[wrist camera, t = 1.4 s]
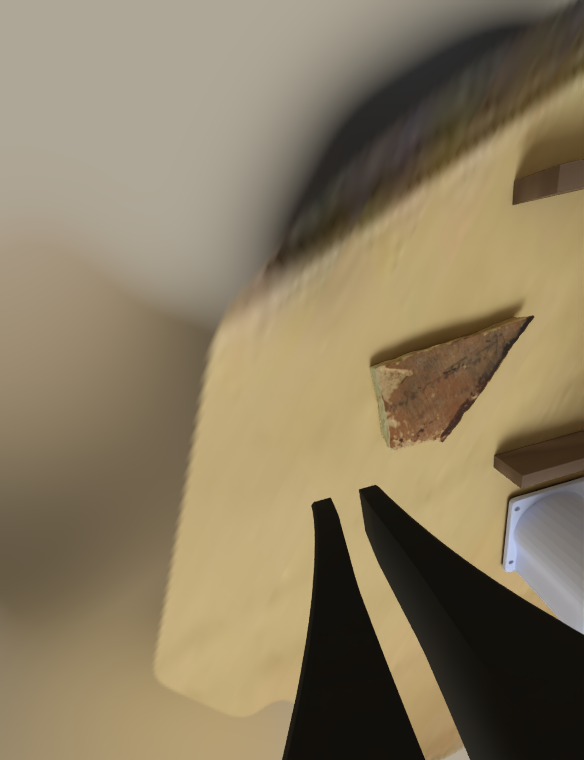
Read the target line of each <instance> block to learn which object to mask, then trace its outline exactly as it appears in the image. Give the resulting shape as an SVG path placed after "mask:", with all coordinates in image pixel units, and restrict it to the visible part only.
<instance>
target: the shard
mask: <svg viewBox="0 0 584 760" xmlns="http://www.w3.org/2000/svg"><path fill="white" fill-rule="evenodd" d="M533 318H534V316H533V315H532V316H528V317H518V318H516V317H511V318H508V319H507V320H505V321H502V322H499V323H496V324H493V325H491V326H489V327H487V328H484V329H483V330H481V331H478V332H476V333H474V334H472V335H469V336H462V337H459V338H457V339H454V340H451V341H449V342H447V343H442V344H437V345H435V346H432V347H430V348H427V349H423V350H419V351H413V352H409V353H407V354H405V355H402V356H400V357H398V358H396V359H393V360H388V361H384V362H381V363H379V364H377V365H374V366H371V367H370V371H371V375H372V378H373V383H374V387H375V392H376V396H377V399H378V403H379V417H380V424H381V433H382V435H383V438H384V439H385V442H386V444H387V447H388V448H389V449H390V450H391V451H396V450H400V449H403V448H405V447H409V446H412V445H414V444H417V443H422V442H429V441H435V440H437V441H439V442H443V441H444V440H445V439H446V438H447V436H448V435H449V434H450V433H451V432H452V430H453V429H454V428H455V427H456V426H457V425H458V423H459V422H460V420H461V419H462V416H463V414H464V413H465V412H466V411H467V410H468V409H469V408H470V407H471V406H472V404H473V403H474V402H475V400H476V399H477V397H478V396H479V395H480V394H481V393H482V391H483V390H484V389H485V387H486V386H487V384H488V382H489V381H490V380H491V378H492V377H493V375H494V374H495V372H496V371H497V370H498V368H499V366H500V365H501V363H502V362H503V360H504V359H505V357H506V355H507V354H508V351H509V350H510V349H511V347H512V346H513V344H514V343H515V342H516V341H517V340H518V338H519V336H520V335H521V334H522V333H523V332H524V331H525V329H526V327H527V326H528V324H529V323H530V322H531V321H532V320H533Z"/></svg>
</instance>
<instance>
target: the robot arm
mask: <svg viewBox="0 0 584 760" xmlns="http://www.w3.org/2000/svg"><path fill="white" fill-rule="evenodd" d="M359 493H360V500H361V506H362V512H363V519H364V525H365V531H366V534H367V536H368V539H369V541H370V544H371V546H372V549H373V551H374V554H375V556H376V559H377V561H378V563H379V565H380V567H381V569H382V571H383V573H384V575H385V577H386V579H387V581H388V583H389V585H390V586H391V588H392V590H393V592H394V594H395V596H396V598H397V600H398V602H399V604H400V606H401V608H402V610H403V612H404V613H405V615H406V617H407V619H408V621H409V623H410V625H411V627H412V629H413V631H414V633H415V635H416V637H417V639H418V641H419V643H420V645H421V647H422V649H423V651H424V653H425V655H426V657H427V660H428V662H429V664H430V667H431V669H432V671H433V674H434V676H435V678H436V681H437V683H438V685H439V687H440V690H441V692H442V694H443V697H444V699H445V701H446V704H447V706H448V708H449V711H450V713H451V715H452V718H453V720H454V723H455V725H456V727H457V730H458V732H459V734H460V737H461V739H462V741H463V744H464V746H465V748H466V751H467V753H468V756H469V758H470V760H584V477H582V478H579V479H576V480H572V481H569V482H565V483H562V484H559V485H555V486H552V487H548V488H545V489H542V490H538V491H535V492H531V493H528V494H525V495H521V496H518V497H514V498H512V499H511V500H510V502H509V509H508V519H507V528H506V538H505V548H504V557H503V569H504V570H505V571H506V572H512V571H516V572H517V573H518V574H519V575H520V576H521V577H522V578H523V579H524V581H525V582H526V583H527V584H528V585H529V586H530V587H531V588H532V589H533V590H534V592H535V593H536V594H537V595H538V596H539V597H540V598H541V599H542V600H543V601H544V603H545V604H546V605H547V606H548V607H549V608H550V609H551V610H552V611H553V612H554V614H555V615H556V616H557V617H558V618H559V619H560V620H561V621H560V620H558V619H556V618H555V617H553V616H551V615H550V614H548V613H546V612H545V611H543V610H541V609H540V608H538V607H536V606H534V605H533V604H531V603H529V602H528V601H526V600H524V599H523V598H521V597H520V596H518V595H517V594H515V593H513V592H512V591H510V590H509V589H507V588H506V587H504V586H503V585H501V584H499V583H498V582H496V581H495V580H493V579H492V578H491V577H489V576H488V575H486V574H485V573H483V572H482V571H480V570H479V569H477V568H476V567H475V566H473V565H472V564H470V563H469V562H467V561H466V560H465V559H463V558H462V557H461V556H459V555H458V554H457V553H455V552H454V551H453V550H451V549H450V548H449V547H447V546H446V545H445V544H443V543H442V542H441V541H440V540H438V539H437V538H436V537H435V536H433V535H432V534H431V533H430V532H428V531H427V530H426V529H425V528H424V527H422V526H421V525H420V524H419V523H418V522H416V521H415V520H414V519H413V518H412V517H411V516H409V515H408V514H407V513H406V512H405V511H404V510H403V509H402V508H400V507H399V506H398V505H397V504H396V503H395V502H394V501H393V500H392V499H391V498H390V497H389V496H388V495H387V494H386V493H384V492H383V491H382V490H381V489H380V488H379V487H378V486H377V485H373V486H370V487H366V488H363V489H359ZM311 506H312V510H313V517H314V528H315V558H314V576H313V589H312V600H311V609H310V617H309V624H308V631H307V638H306V645H305V651H304V656H303V662H302V668H301V674H300V679H299V684H298V690H297V695H296V700H295V704H294V709H293V713H292V718H291V722H290V727H289V731H288V736H287V740H286V745H285V750H284V754H283V758H282V760H425V758H424V755H423V753H422V750H421V748H420V746H419V743H418V741H417V738H416V736H415V733H414V731H413V728H412V726H411V723H410V720H409V718H408V715H407V713H406V710H405V708H404V705H403V703H402V700H401V698H400V695H399V693H398V690H397V688H396V685H395V683H394V680H393V677H392V675H391V672H390V670H389V667H388V665H387V662H386V659H385V657H384V654H383V652H382V649H381V646H380V644H379V641H378V639H377V636H376V634H375V631H374V628H373V626H372V623H371V620H370V618H369V615H368V612H367V610H366V607H365V604H364V602H363V599H362V597H361V594H360V591H359V588H358V585H357V581H356V578H355V575H354V571H353V567H352V564H351V560H350V556H349V553H348V549H347V545H346V542H345V538H344V534H343V531H342V527H341V523H340V519H339V516H338V513H337V511H336V508H335V506H334V504H333V502H332V499H331V498H327V499H324V500H320V501H316V502H314V503H313V504H312V505H311Z"/></svg>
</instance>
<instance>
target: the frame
mask: <svg viewBox="0 0 584 760" xmlns="http://www.w3.org/2000/svg"><path fill="white" fill-rule="evenodd" d="M582 189H584V159H582V160H578V161H573V162H569V163H564V164H560V165H557V166H554V167H552V168H549V169H546V170H543V171H540V172H538V173H535V174H532V175H529V176H527V177H524V178H521V179H518V180H516V181H515V182H514V196H513V205H515V204H519V203H524V202H528V201H533V200H537V199H542V198H546V197H551V196H555V195H559V194H564V193H568V192H573V191H577V190H582ZM494 468H495V469H497V470H498V471H499V472H500V473H502V474H503V475H504V476H506V477H507V478H508V479H510V480H511V481H512V482H513V483H515V484H516V485H517V486H519V487H520V488H524V487H528V486H531V485H535V484H538V483H542V482H545V481H548V480H552V479H555V478H559V477H562V476H566V475H569V474H572V473H576V472H579V471H583V470H584V431H580V432H577V433H573V434H570V435H566V436H563V437H559V438H556V439H552V440H549V441H545V442H541V443H538V444H534V445H531V446H527V447H524V448H520V449H517V450H513V451H510V452H506V453H503V454H499V455H496V456H495V459H494Z"/></svg>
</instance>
